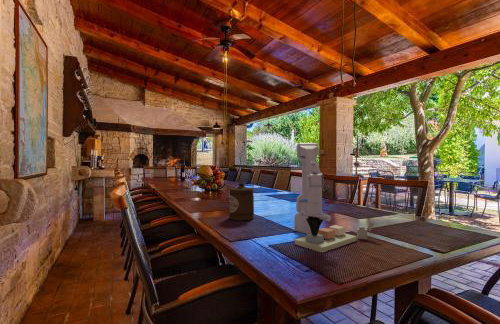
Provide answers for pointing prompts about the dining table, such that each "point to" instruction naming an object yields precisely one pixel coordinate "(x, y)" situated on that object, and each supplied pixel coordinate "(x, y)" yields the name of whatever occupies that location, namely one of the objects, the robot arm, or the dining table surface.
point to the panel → (327, 242)
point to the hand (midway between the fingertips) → (314, 235)
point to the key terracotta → (327, 233)
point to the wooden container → (241, 203)
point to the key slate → (314, 238)
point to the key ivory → (338, 229)
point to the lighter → (364, 231)
